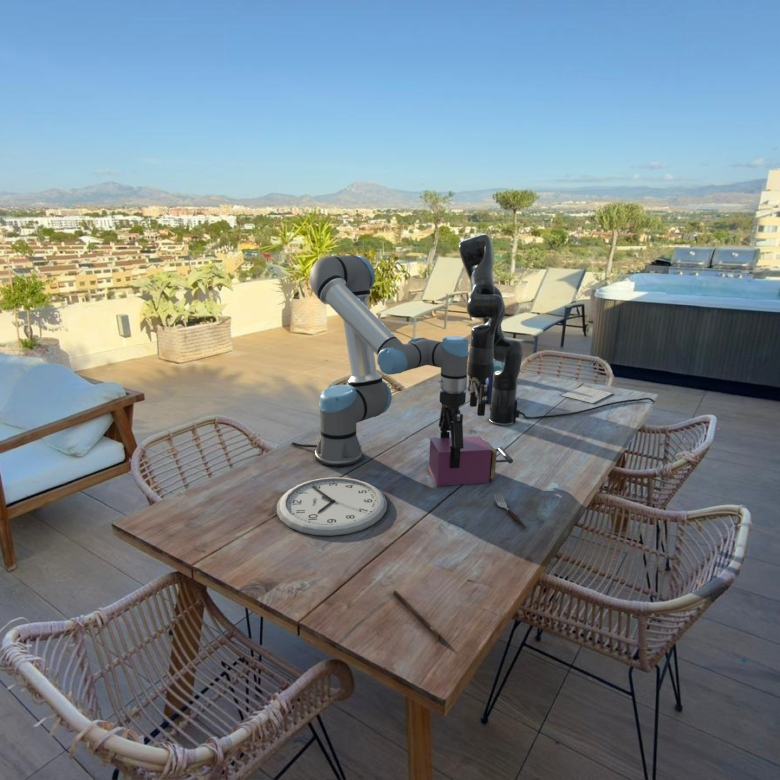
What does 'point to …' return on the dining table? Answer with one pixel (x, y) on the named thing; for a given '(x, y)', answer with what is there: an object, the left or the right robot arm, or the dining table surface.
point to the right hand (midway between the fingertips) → (476, 410)
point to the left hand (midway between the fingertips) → (449, 459)
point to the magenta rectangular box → (471, 462)
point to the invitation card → (587, 394)
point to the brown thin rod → (416, 614)
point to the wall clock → (331, 506)
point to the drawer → (493, 458)
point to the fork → (504, 505)
